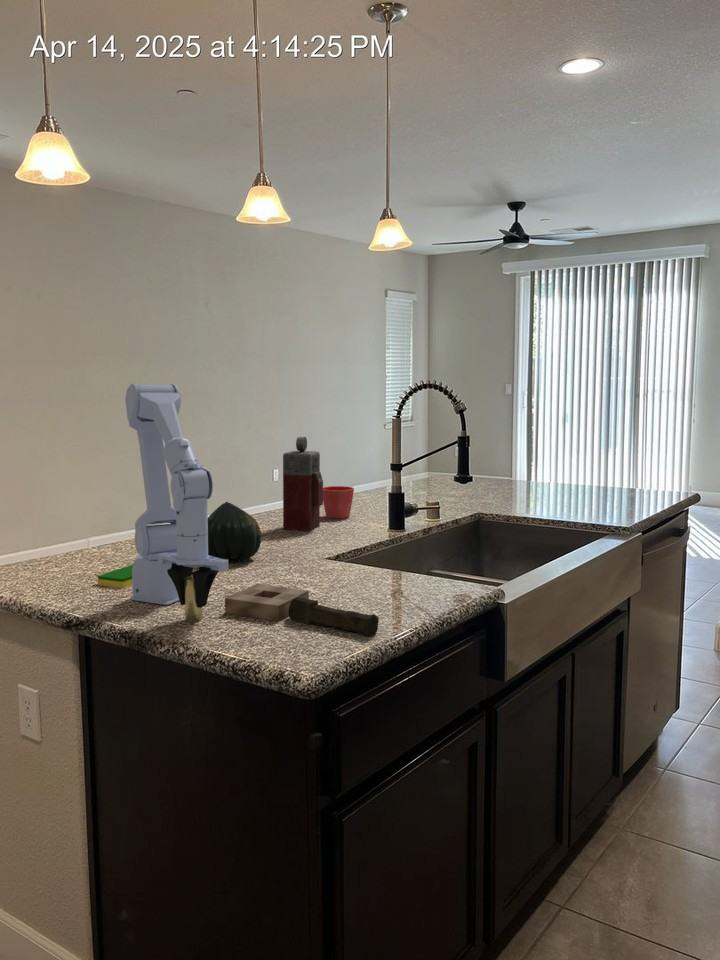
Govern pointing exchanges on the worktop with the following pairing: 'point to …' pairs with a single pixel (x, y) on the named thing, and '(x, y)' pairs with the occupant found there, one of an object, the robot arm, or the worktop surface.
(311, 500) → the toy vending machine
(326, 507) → the flower pot
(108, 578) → the dish sponge
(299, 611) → the hand tool
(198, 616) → the brass peg
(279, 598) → the socket block
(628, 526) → the worktop surface
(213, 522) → the squash
